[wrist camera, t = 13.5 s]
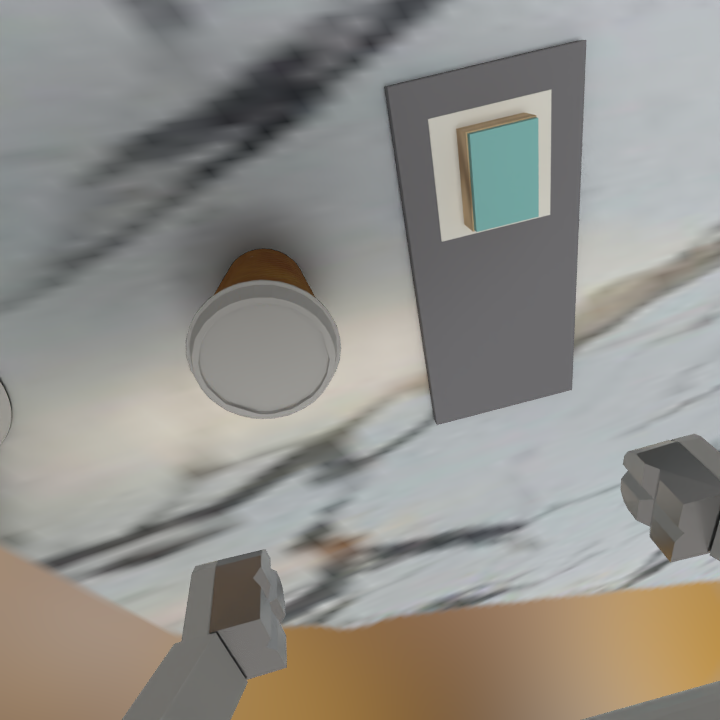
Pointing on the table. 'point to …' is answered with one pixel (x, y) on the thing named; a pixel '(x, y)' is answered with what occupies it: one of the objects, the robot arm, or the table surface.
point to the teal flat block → (499, 171)
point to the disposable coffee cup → (263, 339)
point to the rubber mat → (492, 232)
